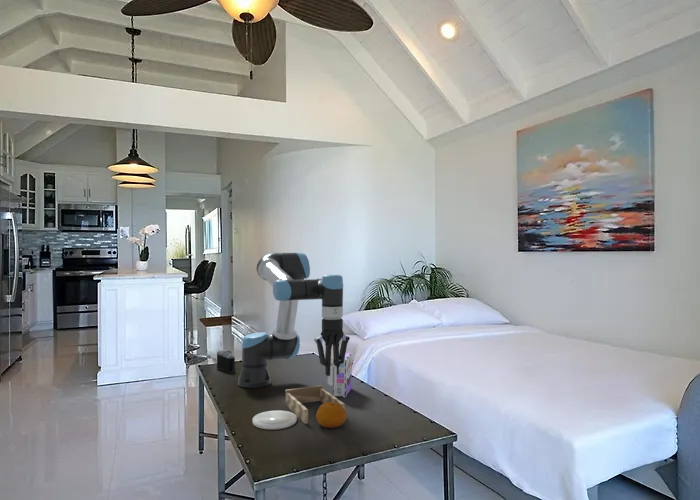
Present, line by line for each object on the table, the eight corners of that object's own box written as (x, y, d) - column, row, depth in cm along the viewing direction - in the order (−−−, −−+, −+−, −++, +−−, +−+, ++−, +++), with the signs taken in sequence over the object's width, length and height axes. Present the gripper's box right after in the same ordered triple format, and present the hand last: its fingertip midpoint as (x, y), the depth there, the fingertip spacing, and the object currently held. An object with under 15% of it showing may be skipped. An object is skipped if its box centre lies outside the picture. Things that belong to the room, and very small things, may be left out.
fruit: (343, 432, 158) (343, 409, 158) (313, 430, 160) (313, 407, 160) (348, 421, 169) (348, 399, 169) (320, 419, 170) (320, 398, 170)
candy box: (345, 398, 196) (346, 359, 196) (332, 397, 197) (332, 358, 197) (352, 388, 209) (352, 352, 209) (339, 387, 210) (339, 352, 210)
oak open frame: (285, 404, 187) (285, 389, 187) (321, 399, 193) (321, 385, 194) (304, 423, 166) (304, 407, 166) (344, 417, 173) (344, 401, 173)
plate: (248, 417, 172) (248, 413, 172) (289, 411, 179) (289, 407, 179) (258, 432, 157) (258, 428, 157) (302, 425, 164) (302, 421, 164)
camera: (241, 370, 240) (241, 351, 240) (229, 372, 235) (229, 353, 236) (226, 365, 251) (226, 347, 251) (215, 367, 246) (215, 348, 246)
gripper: (318, 320, 157) (317, 389, 157) (354, 318, 163) (354, 384, 163) (310, 317, 164) (310, 383, 164) (345, 315, 170) (345, 379, 170)
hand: (332, 384), depth 163 cm, fingers closed
